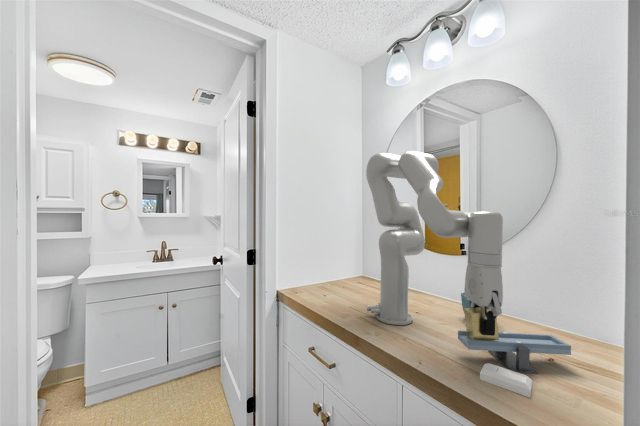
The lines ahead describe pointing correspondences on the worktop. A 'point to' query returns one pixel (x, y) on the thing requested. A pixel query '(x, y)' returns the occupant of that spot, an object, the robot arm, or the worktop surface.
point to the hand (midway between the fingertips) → (482, 330)
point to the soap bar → (506, 379)
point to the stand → (515, 360)
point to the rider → (477, 324)
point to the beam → (518, 343)
